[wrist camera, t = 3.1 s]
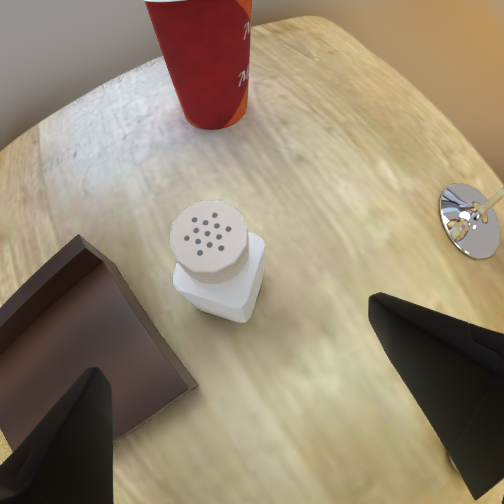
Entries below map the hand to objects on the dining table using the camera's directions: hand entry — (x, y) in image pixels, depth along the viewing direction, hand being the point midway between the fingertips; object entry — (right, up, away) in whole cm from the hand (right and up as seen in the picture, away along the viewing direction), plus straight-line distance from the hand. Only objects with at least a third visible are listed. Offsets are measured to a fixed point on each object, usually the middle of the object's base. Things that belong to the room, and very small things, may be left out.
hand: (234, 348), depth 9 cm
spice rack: (-13, -7, +10) cm, 17 cm away
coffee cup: (-3, +17, +18) cm, 25 cm away
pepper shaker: (-1, 0, +12) cm, 12 cm away
